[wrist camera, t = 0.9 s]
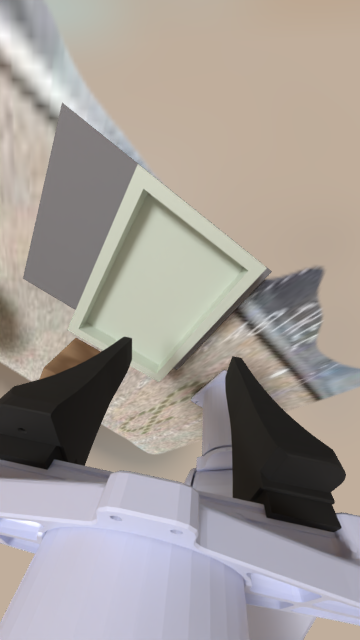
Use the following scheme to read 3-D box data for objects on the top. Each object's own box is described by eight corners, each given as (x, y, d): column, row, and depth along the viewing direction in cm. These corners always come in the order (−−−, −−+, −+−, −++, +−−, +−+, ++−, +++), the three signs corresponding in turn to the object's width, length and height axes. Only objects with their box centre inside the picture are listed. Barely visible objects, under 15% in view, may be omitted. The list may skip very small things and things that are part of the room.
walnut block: (101, 352, 27) (76, 384, 22) (92, 368, 29) (67, 401, 24) (76, 337, 26) (44, 367, 21) (67, 354, 28) (36, 386, 23)
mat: (270, 270, 19) (271, 271, 18) (177, 367, 27) (176, 370, 26) (66, 105, 15) (62, 102, 14) (26, 277, 23) (23, 278, 22)
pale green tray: (256, 259, 18) (267, 268, 15) (164, 363, 26) (159, 382, 23) (150, 173, 16) (137, 164, 13) (84, 315, 24) (67, 330, 21)
